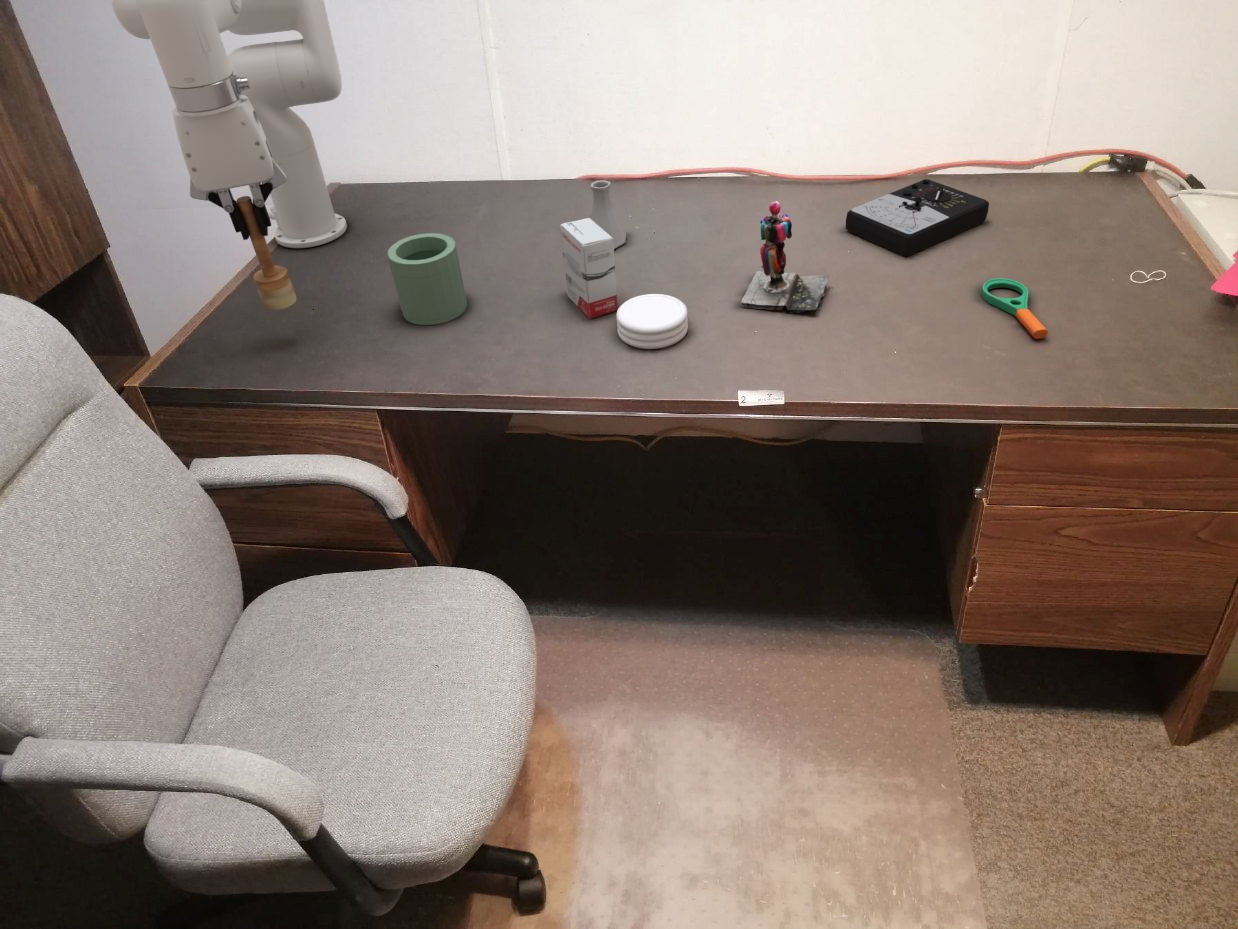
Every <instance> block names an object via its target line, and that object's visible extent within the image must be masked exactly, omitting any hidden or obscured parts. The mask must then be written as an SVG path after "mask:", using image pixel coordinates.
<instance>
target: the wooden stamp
mask: <svg viewBox="0 0 1238 929" xmlns="http://www.w3.org/2000/svg"><path fill="white" fill-rule="evenodd" d="M236 201H237V203H238V206H239V209H240V211H241V214H242V217H243V219H244V222H245V225H246V228H247V231H248V233H249V239H250V241H251V244H252V247H253V250H254V253H255V256H256V259H257V261H258V264H259V266H260V269H259V270H258V271H256V272H255V273H254V274H253V282H254V284H255V286H256V289H257V292H258V294H259V297H260V300H261V302H262V305H263V307H264V308H265V309H266V310H269V311H281V310H284V309H287V308H289V307H291V306H293V305H294V304H295V303H296V302H297V300H298V298H297V295H296V292H295V289H294V285H293V283H292V280H291V277H290V275H289V271H288V269H287V268H286V267H285V266H281V265H275V263H274V260H273V257H272V254H271V252H270V249H269V246H268V243H267V240H266V236H264V235H263V236H262V234H261V231H260V228H259V226H258V223H257V220H256V217H255V214H254V211H253V199H252V197H251V196H249V195H243V196H239V197H238V198H237V199H236Z"/></svg>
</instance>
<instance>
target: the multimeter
mask: <svg viewBox="0 0 1238 929" xmlns="http://www.w3.org/2000/svg"><path fill="white" fill-rule="evenodd" d="M989 208H990V202H989V201H988V200H987V199H985V198H982V197H979V196H976V195H973V194H971V193H968V192H965V191H962V190H959V189H957V188H955V187H951V186H948V185H945V184H943V183H939V182H937V181H935V180H932V179H928V178H925V179H922V180H919V181H917V182H914V183H912V184H909V185H907V186H904V187H903V188H902V187H901V188H899V189H898V190H895V191H893V192H890V193H888V194H885V195H882V196H879V197H877V198H875V199H871V200H869V201H867V202H864V203H863V204H860V205H858V206H854V207H853V208H850V209H849V210H848V211H847V212H846V217H845V230H846V231H848V232H849V233H851V234H852V235H856V236H858V237H860V238H863V239H865V240H867V241H869V242H872V243H874V244H876V245H878V246H880V247H883V248H884V249H887V250H889V251H891V252H894V253H897V254H898V255H901V256H903V257H910V256H911V255H914V254H916V253H918V252H920V251H922V250H925V249H927V248H929V247H931V246H933V245H935V244H938V243H941V242H943V241H945V240H947V239H949V238H952V237H953V236H956V235H957V234H961V233H962V232H964V231H967V230H969V229H971V228H974V227H976V226H978V225H980V224H983V223H984V222H985V221H986V220H987V216H988V214H989Z"/></svg>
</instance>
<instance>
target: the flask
mask: <svg viewBox="0 0 1238 929" xmlns="http://www.w3.org/2000/svg"><path fill="white" fill-rule="evenodd" d="M610 188H611V181H609V180H605V179H604V180H595V181H593V182H591V184H590V189H591V191H592V194H593V195H592V197H593V201H592V202H593V203H592V211H591V215H590V219H591V220H592V221H594V222H595V223H596V224H597V225H598V226H599V227H601V228H602V229H603V230H604V231H605V232H606V233H608V234H609V235H610V236H611V237H612V238H613V242H614V250H615V249H617V248H618V247H620V246H622V245H623V244H625V243H626V240H627V233H626V230H625V229H624V227H623V225H622V222H621V221H620V219H619V217H618V214H617V212H616V210H615V207H614V205H613V201H612V198H611V194H610Z"/></svg>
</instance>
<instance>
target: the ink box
mask: <svg viewBox="0 0 1238 929" xmlns="http://www.w3.org/2000/svg"><path fill="white" fill-rule="evenodd" d="M559 231H560V238H561V248H562V249H561V250H562V258H563V267H564V278H565V279H564V280H565V285H566V286H565V287H566V289H565V290H566V296H567V297H568V298H569V300H571V301H572V302H573V303H574V304H575V306H576V307H578V309H579V310H580V311H581V312H582V313H583V315H585V316H586V317H587V318H588V319H594V318H597V317H601V316H604V315H608V314H611V313H614V312H617V311H618V309H619V307H618V292H617V278H616V277H617V276H616V261H615V260H616V259H615V249H614V242H613V238H612V237H611V236H610V235H609V234H608V233H606V232H605V231H604V230H603V229H602V228H601V227H599V226H598V225H597V224H596V223H595V222H594V221H592V220H591V217H586V218H581V219H577V220H574V221H567V222H563V223H561V224H560V225H559Z"/></svg>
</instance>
